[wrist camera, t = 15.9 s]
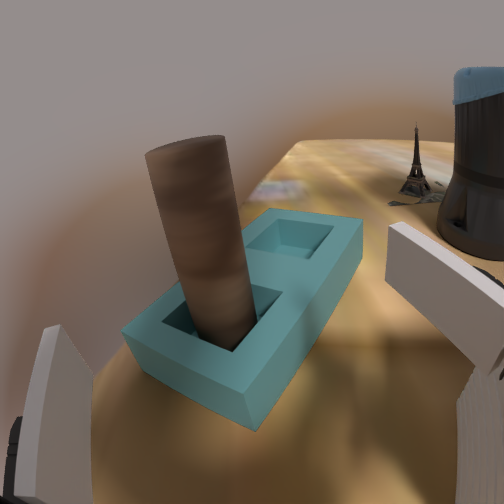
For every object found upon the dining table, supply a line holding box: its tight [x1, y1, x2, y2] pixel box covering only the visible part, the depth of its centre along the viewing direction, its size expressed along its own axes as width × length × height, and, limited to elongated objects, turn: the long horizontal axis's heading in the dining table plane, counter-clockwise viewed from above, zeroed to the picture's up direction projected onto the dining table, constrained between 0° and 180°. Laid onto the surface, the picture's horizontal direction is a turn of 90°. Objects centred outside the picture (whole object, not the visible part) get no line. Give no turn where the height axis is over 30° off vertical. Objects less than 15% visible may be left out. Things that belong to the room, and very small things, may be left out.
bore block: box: [121, 208, 363, 432], centre depth 30 cm, size 24×12×5 cm, turn 148°
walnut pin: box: [145, 135, 258, 352], centre depth 22 cm, size 5×5×16 cm
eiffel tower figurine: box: [387, 127, 446, 206], centre depth 48 cm, size 15×10×13 cm
